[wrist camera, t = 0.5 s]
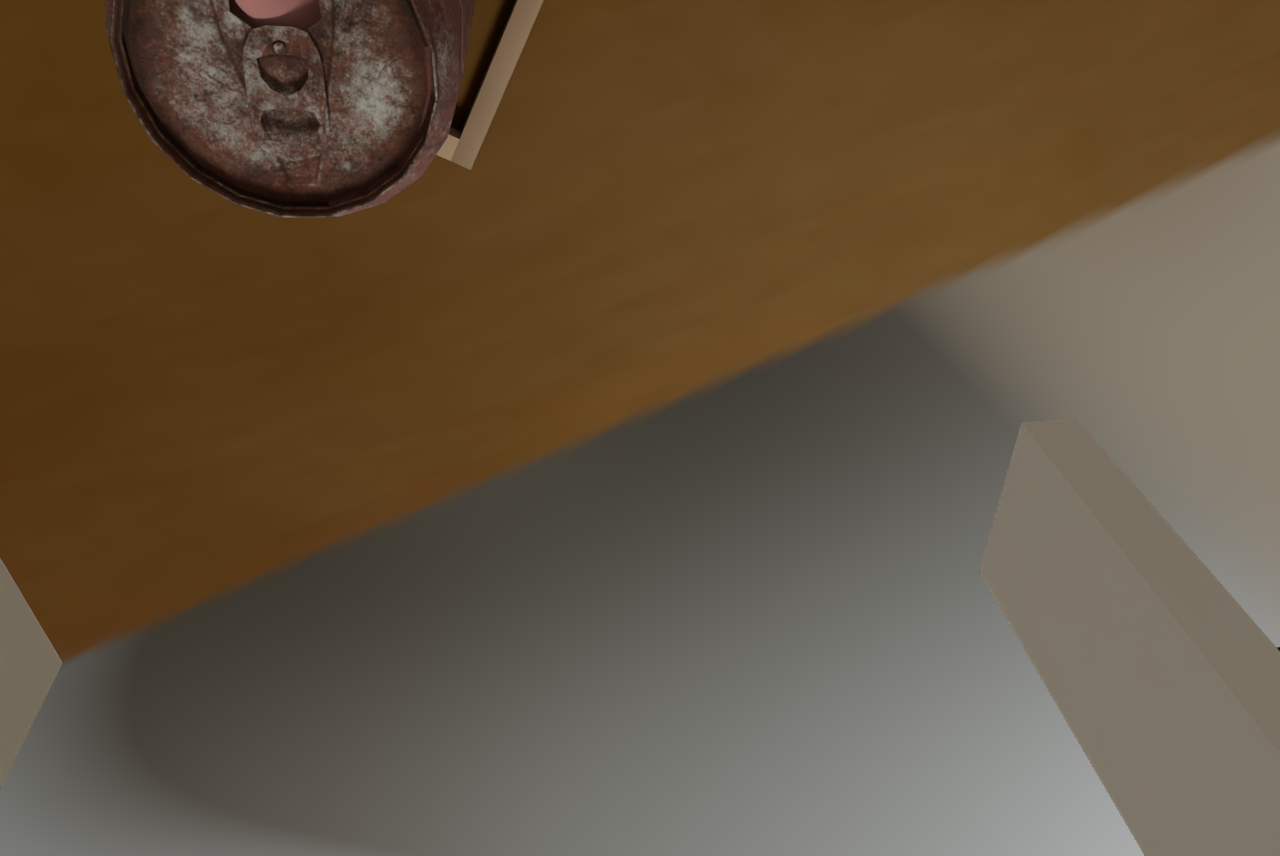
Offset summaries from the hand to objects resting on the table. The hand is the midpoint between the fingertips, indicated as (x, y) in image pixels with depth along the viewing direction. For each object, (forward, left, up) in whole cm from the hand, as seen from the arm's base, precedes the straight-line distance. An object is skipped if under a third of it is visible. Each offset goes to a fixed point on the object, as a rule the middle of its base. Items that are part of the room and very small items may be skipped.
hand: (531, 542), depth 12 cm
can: (-6, +2, -22) cm, 23 cm away
